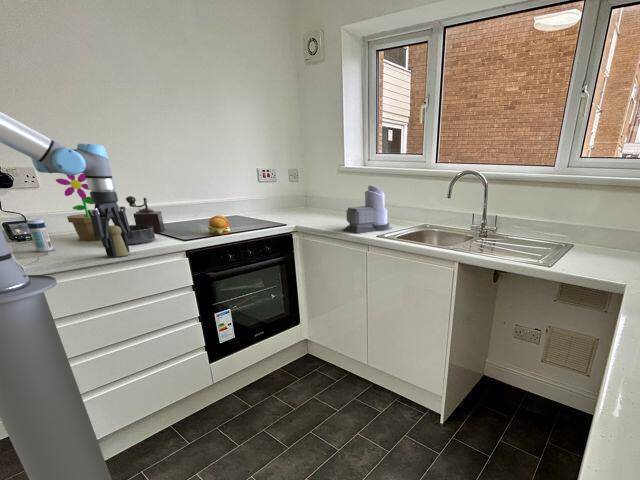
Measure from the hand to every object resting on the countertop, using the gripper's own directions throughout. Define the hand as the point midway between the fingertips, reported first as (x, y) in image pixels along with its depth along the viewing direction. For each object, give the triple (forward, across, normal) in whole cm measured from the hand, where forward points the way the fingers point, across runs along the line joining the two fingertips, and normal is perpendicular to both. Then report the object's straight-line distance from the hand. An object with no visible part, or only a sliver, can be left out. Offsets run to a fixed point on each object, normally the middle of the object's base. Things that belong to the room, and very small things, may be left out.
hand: (118, 253), depth 134 cm
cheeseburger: (0, -49, +12) cm, 51 cm away
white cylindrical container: (+1, -1, -32) cm, 32 cm away
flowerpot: (+1, -25, -34) cm, 42 cm away
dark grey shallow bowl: (+1, -23, -14) cm, 27 cm away
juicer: (0, -81, +84) cm, 117 cm away
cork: (+1, 0, 0) cm, 1 cm away
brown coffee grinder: (+1, -45, -23) cm, 51 cm away
